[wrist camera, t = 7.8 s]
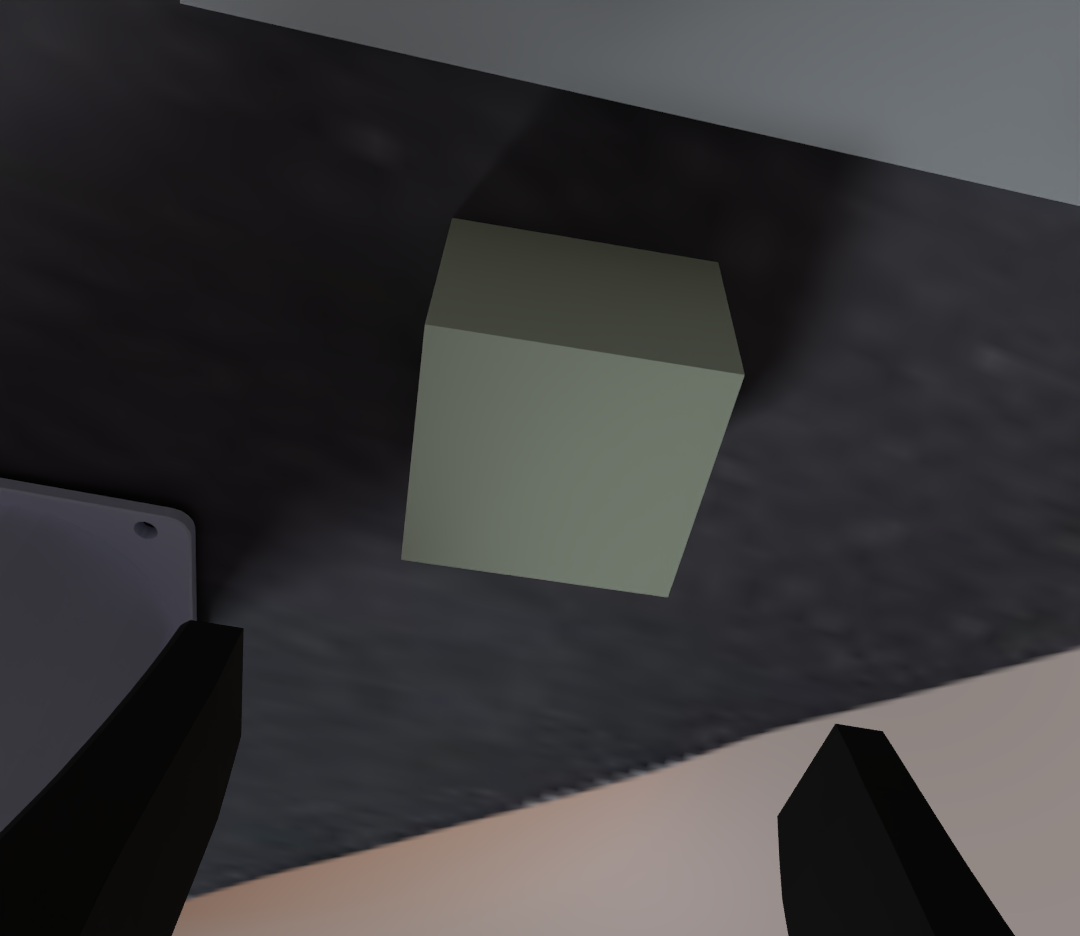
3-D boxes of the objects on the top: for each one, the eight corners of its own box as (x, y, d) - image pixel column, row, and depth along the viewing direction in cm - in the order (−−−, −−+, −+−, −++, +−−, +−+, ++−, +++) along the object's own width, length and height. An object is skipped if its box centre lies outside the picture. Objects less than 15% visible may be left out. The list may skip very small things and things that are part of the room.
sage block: (428, 431, 21) (401, 559, 18) (453, 215, 18) (425, 324, 15) (655, 465, 21) (667, 597, 18) (716, 259, 18) (744, 374, 15)
